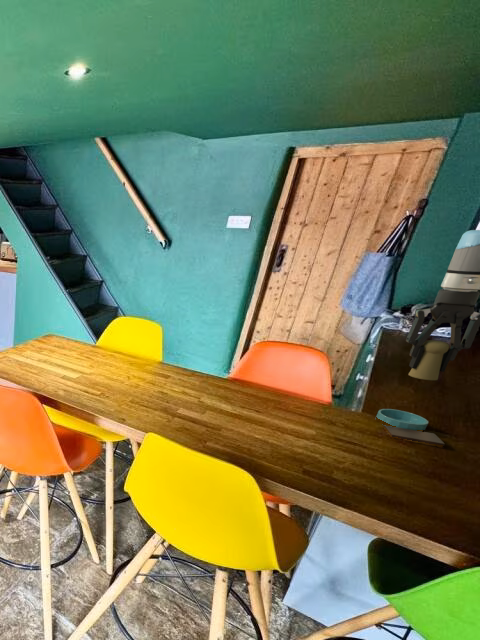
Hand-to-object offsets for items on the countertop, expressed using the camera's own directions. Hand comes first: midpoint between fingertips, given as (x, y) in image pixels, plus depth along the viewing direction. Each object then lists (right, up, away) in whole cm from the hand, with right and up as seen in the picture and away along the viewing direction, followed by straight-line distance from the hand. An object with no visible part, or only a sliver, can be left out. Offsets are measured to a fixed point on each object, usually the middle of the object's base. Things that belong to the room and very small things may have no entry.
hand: (426, 368), depth 119 cm
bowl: (0, -18, +8) cm, 19 cm away
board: (-5, -21, 0) cm, 21 cm away
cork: (0, -3, +1) cm, 3 cm away
